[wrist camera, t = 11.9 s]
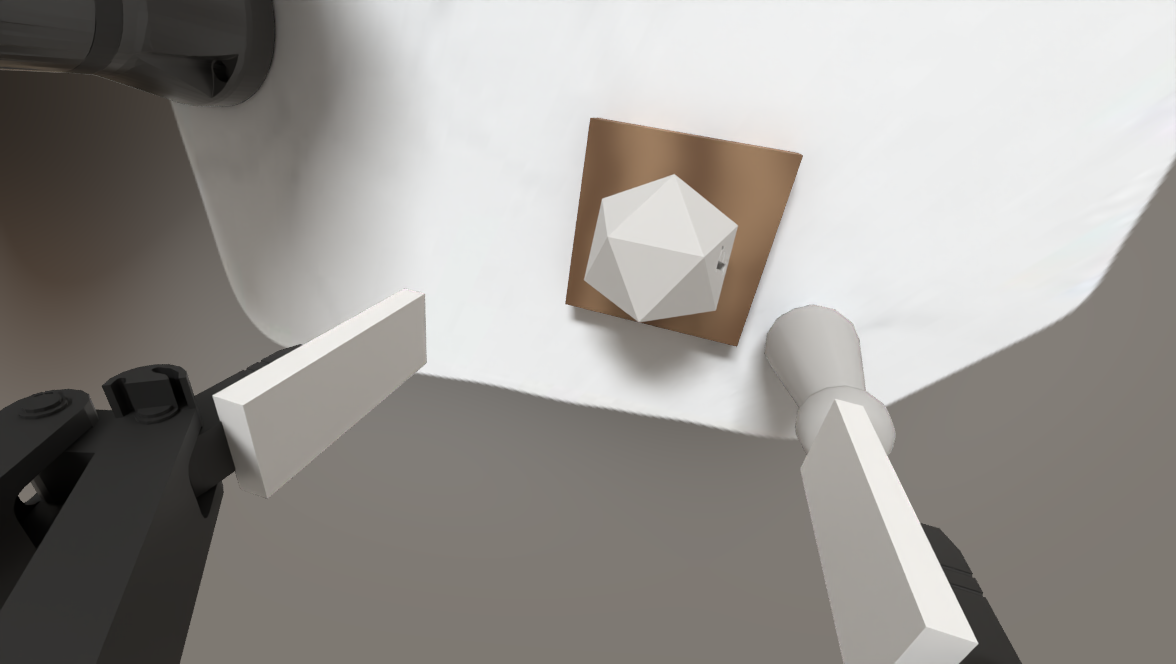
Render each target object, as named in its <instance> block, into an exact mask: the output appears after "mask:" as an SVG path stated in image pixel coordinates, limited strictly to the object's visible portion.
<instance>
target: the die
mask: <svg viewBox="0 0 1176 664" xmlns="http://www.w3.org/2000/svg"><path fill="white" fill-rule="evenodd" d="M737 228H738V225H737V224H736V223H734V222H733V221H732V220H731V219H729V218H728V217H727V216H726V215H725V214H723V213H722V212H721V211H720V210H718V209H717V208H716V207H715V206H713V205H712V204H711V203H710V202H708V201H707V200H706V199H705V198H704V197H702V196H701V195H700V194H699V193H697V192H696V191H695V190H694V189H692V188H691V187H690V186H689V185H687V184H686V183H685V182H684V181H683V180H681V179H680V178H679V177H678V176H676V175H675V174H673V175H670V176H667V177H665V178H662V179H659V180H656V181H653V182H650V183H647V184H644V185H641V186H638V187H635V188H632V189H629V190H626V191H623V192H620V193H618V194H615V195H612V196H609V197H606V198H603V199H602V202H601V206H600V211H599V215H598V220H597V224H596V229H595V233H594V238H593V242H592V247H591V251H590V255H589V260H588V264H587V269H586V273H585V278H584V281H586V282H587V283H588V284H590V285H591V286H592V287H593V288H595V289H596V290H597V291H599V292H600V293H601V294H603V295H604V296H605V297H606V298H608V299H609V300H610V301H612V302H613V303H614V304H616V305H617V306H618V307H619V308H621V309H622V310H623V311H625V312H626V313H627V314H629V315H630V316H631V317H632V318H634V319H635V320H636V321H638V322H645V321H651V320H658V319H664V318H671V317H677V316H684V315H690V314H697V313H703V312H710V311H716V308H717V304H718V300H719V297H720V293H721V289H722V285H723V281H724V277H725V274H726V270H727V266H728V262H729V258H730V255H731V251H732V247H733V243H734V239H735V235H736V232H737Z"/></svg>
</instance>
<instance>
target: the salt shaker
mask: <svg viewBox="0 0 1176 664" xmlns="http://www.w3.org/2000/svg"><path fill="white" fill-rule="evenodd" d="M765 355H766V357H767V359H768V361H769V363H770V365H771V367H772V369H773V371H774V372H775V373H776V375H777V376H778V378H779V379H780V381H781V382H782V383H783V385H784V386H785V388H786V389H787V391H788V392H789V394H790V395H791V396H792V398H793V399H794V401H795V402H796V404H797V406H798V407H799V410H798V412H797V418H796V425H795V429H796V435H797V437H798V439H799V441H800V443H801V445H802V447H803V449H804V451H805V453H806V455H807V454H808V452H809V450H810V448H811V446H812V444H813V442H814V440H815V438H816V436H817V434H818V432H819V430H820V428H821V426H822V424H823V422H824V420H825V418H826V416H827V414H828V412H829V410H830V408H831V406H832V404H833V402H834V400H835V399H838V400H842V401H845V402H849V403H853V404H857V405H861V406H863V407H864V409H865V411H866V413H867V415H868V417H869V419H870V421H871V424H872V426H873V428H874V430H875V432H876V434H877V436H878V438H879V440H880V442H881V444H882V446H883V448H884V450H885V452H886V454H887V456H888V455H889V453H891V452H892V450H893V445H894V441H895V437H896V434H895V429H894V425H893V423H892V420H891V418H890V415H889V412H888V410H887V409H886V407H885V406H884V404H883V403H882V402H880V401H879V400H878V399H876V398H875V397H874V396H872V395H871V394H870V393H868V392H867V391H866V389H865V381H864V372H863V364H862V356H861V348H860V340H859V338H858V335H857V333H856V330H855V328H854V325H853V323H852V322H850V321H849V320H848V319H847V318H845V317H844V316H843V315H841V314H840V313H839V312H838V311H836V310H835V309H831V308H826V307H822V306H817V305H807V306H804V307H800V308H794V309H793V310H791V311H789V312H787V313H785V314H783V315H781V316H780V317H779V318H777V319H776V321H775V322H774V324H773V326H772V327H771V329H770V330H769V332H768V333H767V338H766V346H765Z"/></svg>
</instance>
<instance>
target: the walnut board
mask: <svg viewBox="0 0 1176 664" xmlns="http://www.w3.org/2000/svg"><path fill="white" fill-rule="evenodd" d="M802 157H803V155H801V154H799V153H795V152H790V151H784V150H778V149H773V148H767V147H761V146H755V145H750V144H744V143H738V142H733V141H727V140H721V139H715V138H710V137H704V136H698V135H693V134H687V133H681V132H675V131H670V130H664V129H658V128H653V127H647V126H641V125H636V124H630V123H624V122H618V121H613V120H607V119H601V118H590V125H589V132H588V140H587V147H586V154H585V162H584V169H583V177H582V184H581V192H580V199H579V206H578V214H577V221H576V229H575V236H574V243H573V251H572V258H571V266H570V273H569V280H568V288H567V295H566V303H565V304H568V305H572V306H576V307H580V308H584V309H588V310H592V311H596V312H600V313H604V314H608V315H612V316H616V317H620V318H624V319H628V320H632V321H636V320H635V319H634V318H632V317H631V316H630V315H629V314H627V313H626V312H625V311H623V310H622V309H621V308H619V307H618V306H617V305H616V304H614V303H613V302H612V301H610V300H609V299H608V298H606V297H605V296H604V295H603V294H601V293H600V292H599V291H597V290H596V289H595V288H593V287H592V286H591V285H590V284H588V283H587V282H586V281H584V278H585V273H586V269H587V264H588V260H589V255H590V251H591V247H592V242H593V238H594V233H595V229H596V224H597V220H598V215H599V211H600V206H601V202H602V199H603V198H606V197H609V196H612V195H615V194H618V193H620V192H623V191H626V190H629V189H632V188H635V187H638V186H641V185H644V184H647V183H650V182H653V181H656V180H659V179H662V178H665V177H667V176H670V175H673V174H675V175H676V176H678V177H679V178H680V179H681V180H683V181H684V182H685V183H686V184H687V185H689V186H690V187H691V188H692V189H694V190H695V191H696V192H697V193H699V194H700V195H701V196H702V197H704V198H705V199H706V200H707V201H708V202H710V203H711V204H712V205H713V206H715V207H716V208H717V209H718V210H720V211H721V212H722V213H723V214H725V215H726V216H727V217H728V218H729V219H731V220H732V221H733V222H734V223H736V224H737V225H738V228H737V232H736V235H735V239H734V243H733V247H732V251H731V255H730V258H729V262H728V266H727V270H726V274H725V277H724V281H723V285H722V289H721V293H720V297H719V300H718V304H717V308H716V311H710V312H703V313H697V314H690V315H684V316H677V317H671V318H664V319H658V320H651V321H645V322H640V323H644V324H648V325H652V326H656V327H660V328H664V329H668V330H672V331H676V332H680V333H684V334H688V335H693V336H697V337H701V338H705V339H709V340H713V341H717V342H721V343H725V344H729V345H733V346H737V345H738V342H739V339H740V336H741V333H742V330H743V327H744V325H745V322H746V319H747V316H748V313H749V310H750V307H751V304H752V301H753V299H754V296H755V293H756V290H757V287H758V284H759V281H760V278H761V275H762V273H763V270H764V267H765V264H766V261H767V258H768V255H769V252H770V249H771V247H772V244H773V241H774V238H775V235H776V232H777V229H778V226H779V223H780V221H781V218H782V215H783V212H784V209H785V206H786V203H787V200H788V197H789V195H790V192H791V189H792V186H793V183H794V180H795V177H796V174H797V171H798V168H799V166H800V163H801V160H802ZM636 322H638V321H636Z"/></svg>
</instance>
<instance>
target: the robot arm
mask: <svg viewBox="0 0 1176 664" xmlns="http://www.w3.org/2000/svg"><path fill="white" fill-rule="evenodd" d="M274 35H275V30H274V14H273V6H272V0H0V70H19V71H40V72H64V73H80V74H90V75H97V76H100V77H103V78H106V79H109V80H112V81H115V82H118V83H121V84H124V85H127V86H130V87H133V88H136V89H139V90H142V91H145V92H148V93H151V94H154V95H157V96H160V97H163V98H166V99H169V100H172V101H175V102H178V103H182V104H187V105H193V106H222V107H223V106H232V105H236V104H239V103H241V102H243V101H245V100H247V99H248V98H250V97H251V96H252V95H253V94H254V93H255V92H256V91H257V90H258V89H259V87H260V86H261V84H262V83H263V81H264V79H265V77H266V75H267V73H268V70H269V67H270V64H271V60H272V55H273V49H274ZM426 363H427V358H426V318H425V294H424V293H420V292H417V291H413V290H409V289H405V288H404V289H403V290H401V291H399V292H397V293H395V294H394V295H392V296H390V297H388V298H386V299H385V300H383V301H381V302H379V303H377V304H376V305H374V306H372V307H370V308H368V309H367V310H365V311H363V312H361V313H359V314H358V315H356V316H354V317H352V318H350V319H349V320H347V321H345V322H343V323H342V324H340V325H338V326H336V327H334V328H333V329H331V330H329V331H327V332H325V333H324V334H322V335H320V336H318V337H316V338H315V339H313V340H311V341H309V342H307V343H306V344H304V345H301V344H299V345H296V346H293V347H289V348H286V349H283V350H280V351H277V352H275V353H274V354H272V355H270V356H268V357H266V358H264V359H263V360H261V362H260V363H259V362H257V363H255V364H253V365H251V366H250V367H248V368H247V370H246V371H244V370H242V371H240V372H238V373H237V374H235V375H233V376H231V377H229V378H227V379H225V380H224V381H222V382H220V383H218V384H216V385H214V386H213V387H211V388H209V389H207V390H205V391H203V392H201V393H199V394H198V395H196V396H194V394H193V391H192V387H191V384H190V381H189V378H188V375H187V372H186V371H185V370H184V369H183V368H181V367H179V366H174V365H170V364H162V365H159V364H158V365H149V366H143V367H138V368H135V369H131V370H128V371H125V372H122V373H120V374H118V375H116V376H114V377H112V378H110V379H109V380H108V381H107V382H106V383H105V384H103V385H102V388H103V390H104V392H105V395H106V397H107V399H108V401H109V404H110V406H111V408H112V410H96V409H95V407H94V405H93V403H92V401H91V398H90V396H89V394H87V393H85V392H84V391H81V390H73V389H64V390H51V391H45V392H41V393H37V394H33V395H31V396H29V397H27V398H24V399H21V400H18V401H16V402H14V403H12V404H11V405H9V406H7V407H5V408H3V409H2V410H1V411H0V664H180V660H181V656H182V652H183V649H184V645H185V641H186V637H187V633H188V629H189V625H190V621H191V618H192V614H193V610H194V606H195V602H196V598H197V594H198V590H199V586H200V582H201V579H202V575H203V571H204V567H205V563H206V559H207V555H208V551H209V547H210V543H211V540H212V536H213V532H214V528H215V524H216V520H217V516H218V512H219V509H220V504H221V500H222V497H223V493H224V491H223V484H222V480H223V479H224V478H226V477H227V476H228V475H230V474H231V473H233V472H234V471H235V473H236V477H237V480H238V483H239V486H240V489H241V490H244V491H247V492H250V493H252V494H255V495H258V496H261V497H263V498H266V499H268V498H269V497H270V496H272V495H273V494H274V493H275V492H276V491H277V490H279V488H281V487H282V486H283V485H284V484H286V483H287V482H288V481H289V480H290V479H291V478H293V477H294V476H295V475H296V474H297V473H298V472H300V471H301V470H302V469H303V468H304V467H305V466H307V465H308V464H309V463H310V462H311V461H312V460H314V459H315V458H316V457H317V456H318V455H320V454H321V453H322V452H323V451H324V450H325V449H326V448H328V447H329V446H330V445H331V444H332V443H333V442H335V441H336V440H337V439H338V438H339V437H340V436H342V435H343V434H344V433H345V432H346V431H348V430H349V429H350V428H351V427H352V426H353V425H355V424H356V423H357V422H358V421H359V420H361V419H362V418H363V417H364V416H365V415H366V414H368V413H369V412H370V411H371V410H372V409H373V408H375V407H376V406H377V405H378V404H379V403H380V402H382V401H383V400H384V399H385V398H386V397H387V396H389V395H390V394H391V393H392V392H393V391H394V390H396V389H397V388H398V387H399V386H400V385H402V384H403V383H404V382H405V381H406V380H407V379H408V378H410V377H411V376H412V375H413V374H414V373H416V372H417V371H418V370H419V369H420V368H421V367H423V366H424V365H425V364H426ZM800 470H801V475H802V479H803V484H804V488H805V493H806V497H807V502H808V506H809V510H810V515H811V520H812V523H813V528H814V533H815V537H816V542H817V546H818V550H819V555H820V559H821V564H822V568H823V573H824V577H825V582H826V586H827V591H828V595H829V600H830V604H831V609H832V613H833V618H834V622H835V627H836V631H837V635H838V640H839V645H840V649H841V654H842V658H843V662H844V664H1022V663H1021V661H1020V660H1019V658H1018V656H1017V654H1016V652H1015V650H1014V649H1013V647H1012V645H1011V643H1010V641H1009V639H1008V637H1007V636H1006V634H1005V632H1004V630H1003V628H1002V626H1001V625H1000V623H999V621H998V619H997V617H996V616H995V614H994V612H993V610H992V608H991V606H990V605H989V603H988V601H987V599H986V598H985V597H983V596H982V594H983V592H982V590H981V588H980V587H979V584H978V583H977V581H976V579H975V578H973V577H972V574H973V573H972V572H971V570H970V568H969V566H968V564H967V563H966V561H965V559H964V557H963V555H962V553H961V552H960V550H959V549H958V548H957V547H956V546H955V545H954V544H953V543H952V542H951V540H950V539H949V538H948V537H947V536H946V535H945V534H944V533H943V532H942V531H941V530H940V529H939V528H936V527H932V526H929V525H926V524H922V523H920V522H919V520H918V518H917V516H916V514H915V512H914V510H913V508H912V506H911V504H910V502H909V500H908V498H907V496H906V494H905V491H904V490H903V488H902V485H901V483H900V481H899V479H898V478H897V475H896V473H895V471H894V469H893V467H892V465H891V463H890V461H889V459H888V457H887V454H886V452H885V450H884V448H883V446H882V444H881V442H880V440H879V438H878V436H877V434H876V432H875V430H874V428H873V426H872V424H871V421H870V419H869V417H868V415H867V413H866V411H865V409H864V407H863V406H861V405H857V404H853V403H849V402H845V401H842V400H838V399H835V400H834V402H833V404H832V406H831V408H830V410H829V412H828V414H827V416H826V418H825V420H824V422H823V424H822V426H821V428H820V430H819V432H818V434H817V436H816V438H815V440H814V442H813V444H812V446H811V448H810V450H809V452H808V454H807V456H806V458H805V460H804V462H803V464H802V466H801V468H800ZM30 482H31V483H32V485H33V487H34V488H35V490H36V492H37V493H36V494H35V495H34V496H33V497H32V498H31V499H30V500H28V501H27V502H25V503H23V502H22V501H21V500H20V499H19V497H18V495H19V493H20V492H21V491H22V489H23V488H24V487H25V486H26V485H27V484H28V483H30Z"/></svg>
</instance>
